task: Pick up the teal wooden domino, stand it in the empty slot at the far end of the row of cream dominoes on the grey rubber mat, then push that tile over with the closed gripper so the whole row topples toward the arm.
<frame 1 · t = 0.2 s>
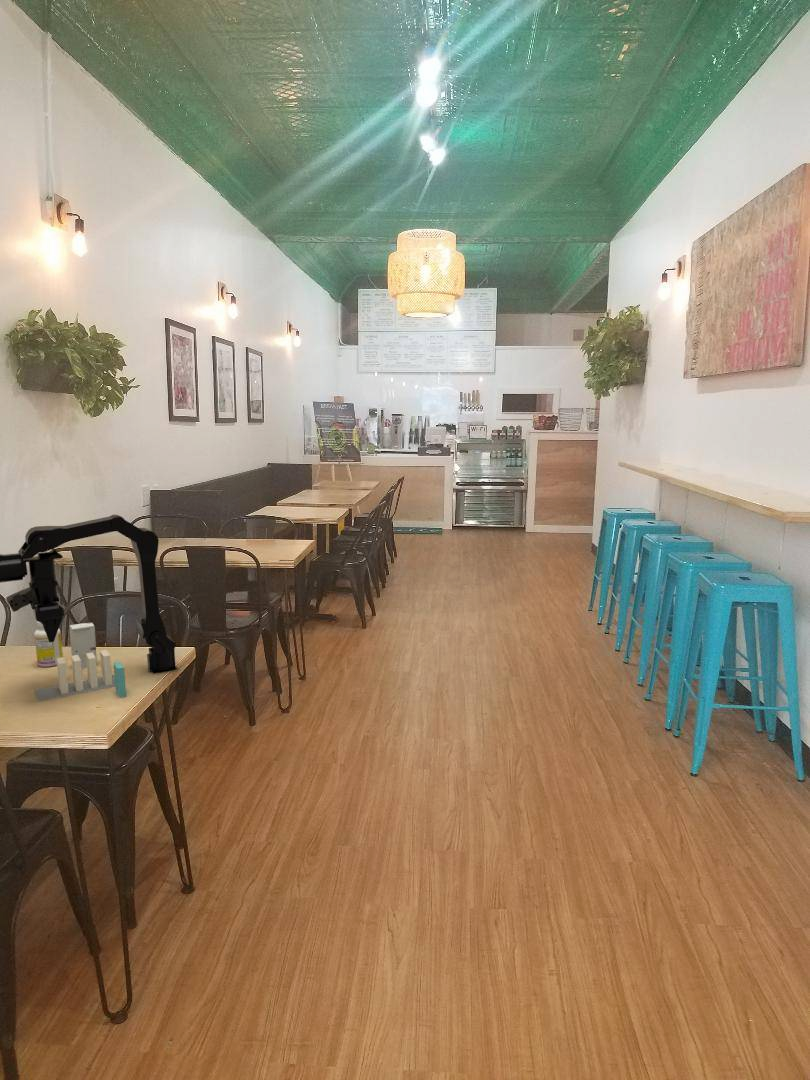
hand: (49, 637, 183), 14 cm above the table, tool pointing down, fingers open, 9 cm apart
skincare box: (85, 667, 202), on the table
domino 4: (63, 690, 184), resting on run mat
domino 1: (107, 682, 190), resting on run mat
supplement bottle: (50, 664, 205), on the table
teal domino: (121, 695, 182), on the table
domino 3: (78, 687, 186), resting on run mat
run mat: (78, 689, 186), on the table
domino 2: (93, 684, 188), resting on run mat
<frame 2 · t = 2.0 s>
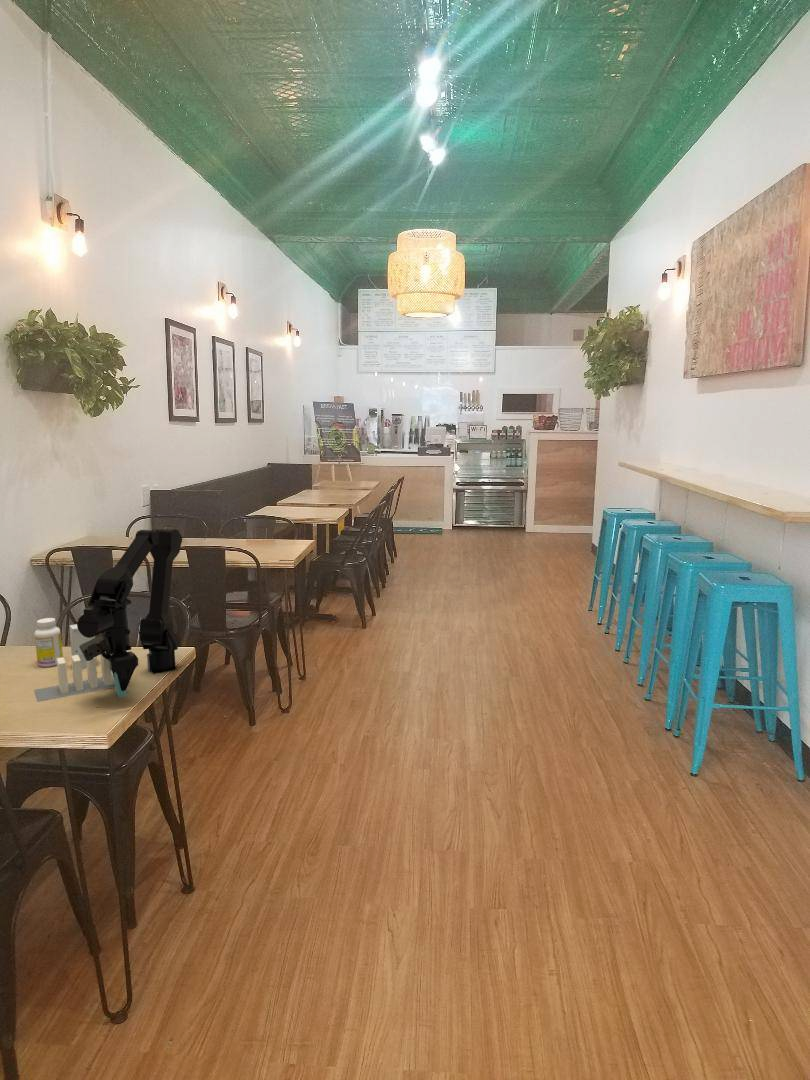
hand: (120, 685, 182), 3 cm above the table, tool pointing down, fingers open, 8 cm apart
nothing on the table moved.
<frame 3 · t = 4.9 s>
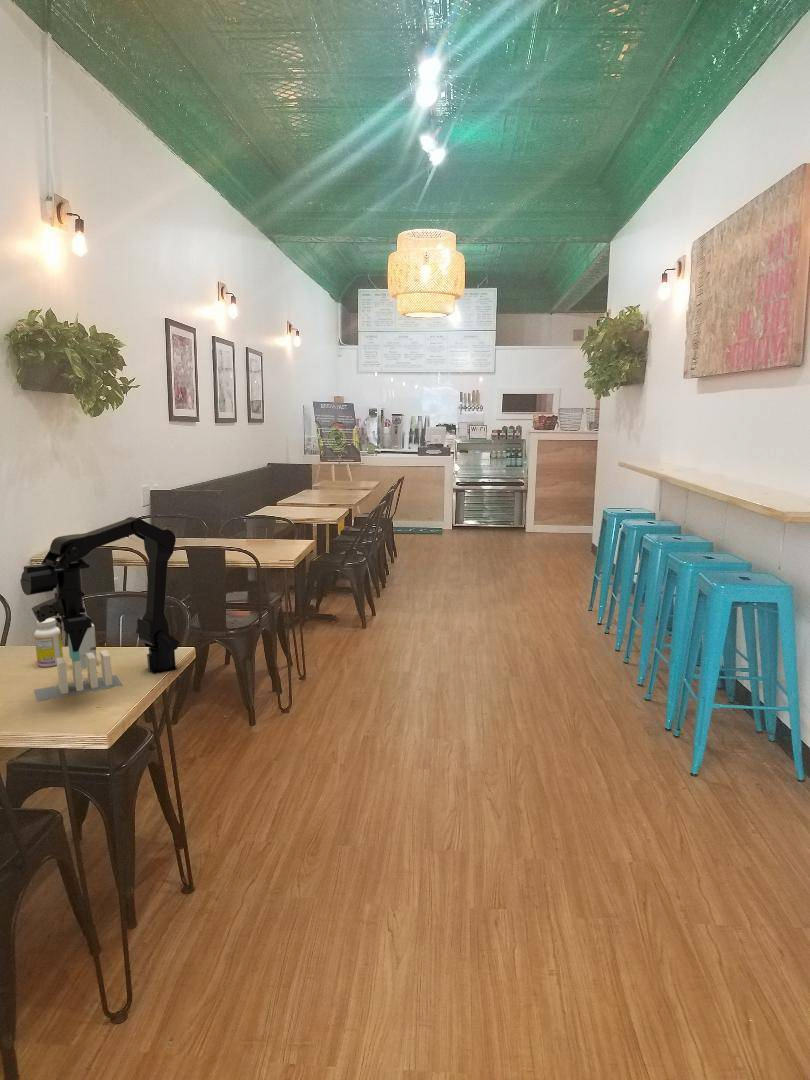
hand: (73, 648, 180), 12 cm above the table, tool pointing down, fingers closed on teal domino, 5 cm apart
teal domino: (74, 658, 180), point 10 cm above the table, touching gripper
everything else where it was.
when the fingers open (4 cm above the table, at t = 7.3 s): teal domino drops 1 cm, resting on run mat.
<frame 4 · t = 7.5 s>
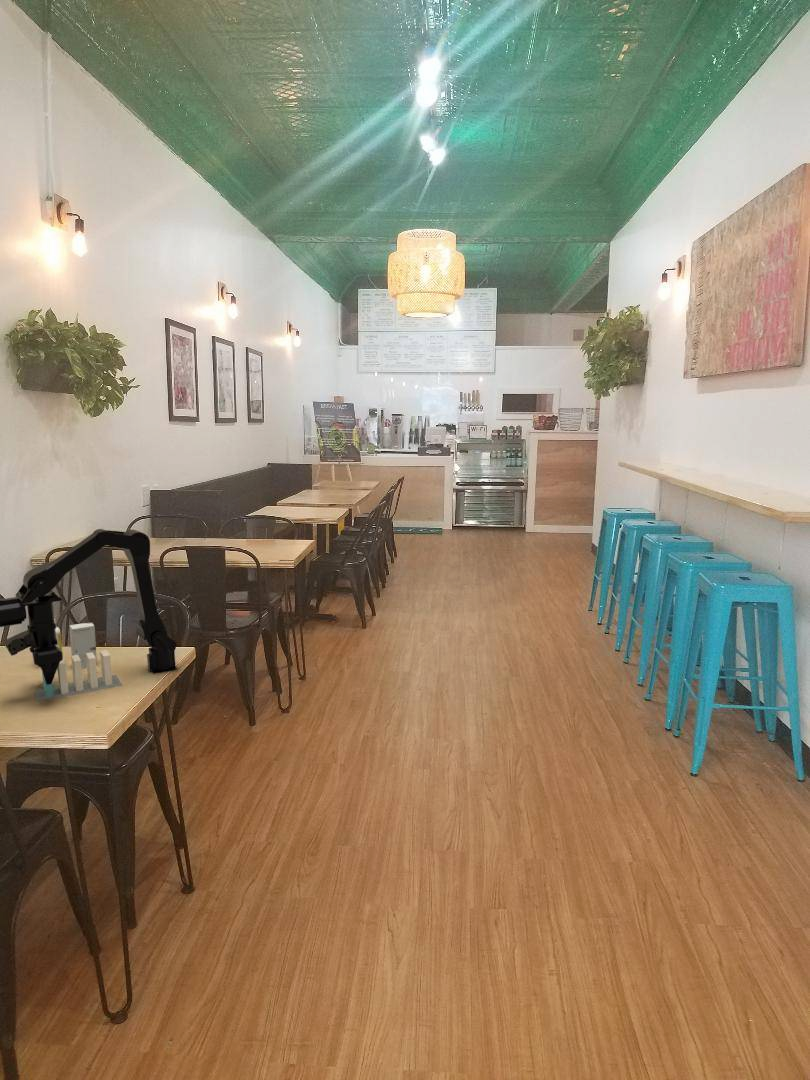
hand: (47, 679, 182), 4 cm above the table, tool pointing down, fingers open, 7 cm apart
teal domino: (48, 693, 182), resting on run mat
everything else where it was.
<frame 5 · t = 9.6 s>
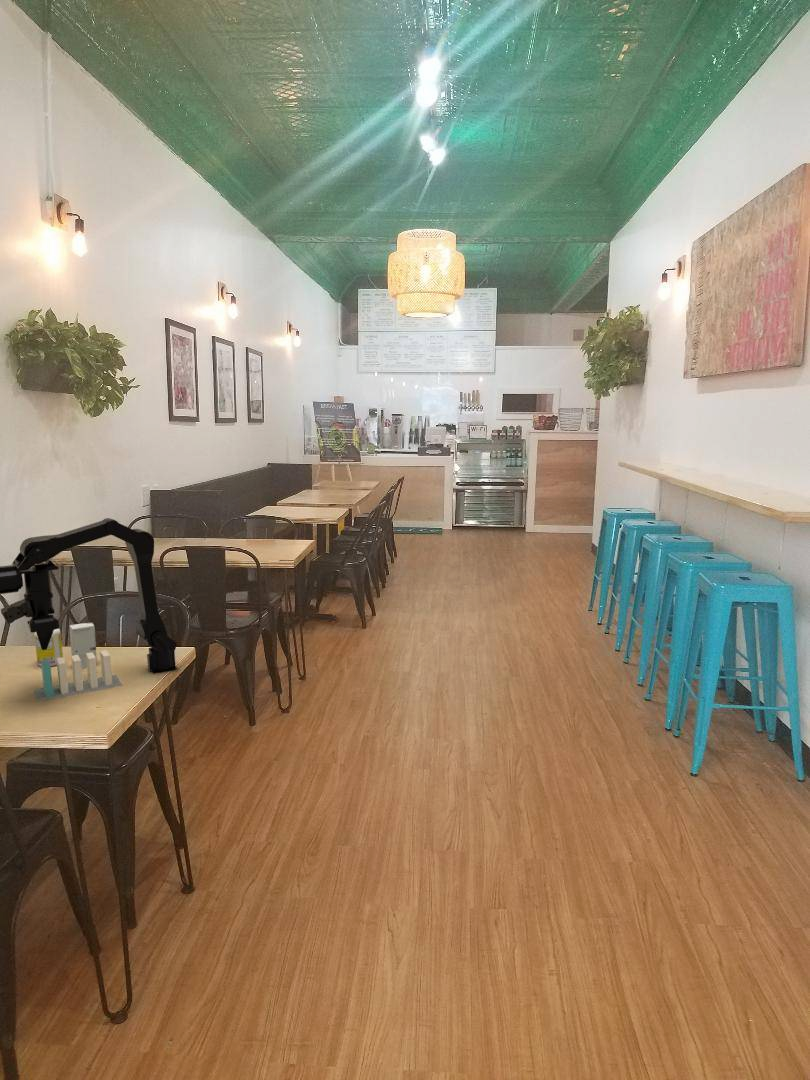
hand: (44, 649, 180), 12 cm above the table, tool pointing down, fingers closed
nothing on the table moved.
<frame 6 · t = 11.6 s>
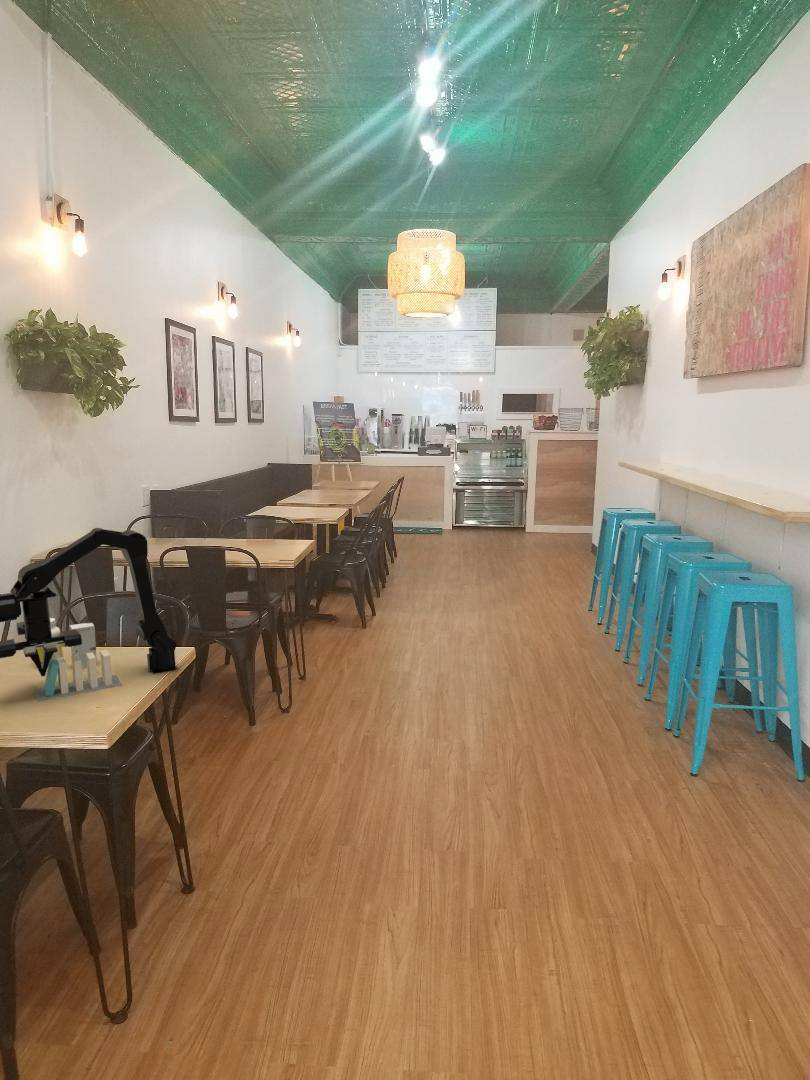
hand: (43, 675, 181), 5 cm above the table, tool pointing down, fingers closed
teal domino: (48, 692, 182), point 1 cm above the table, tilted 14°, touching gripper, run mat
everything else where it was.
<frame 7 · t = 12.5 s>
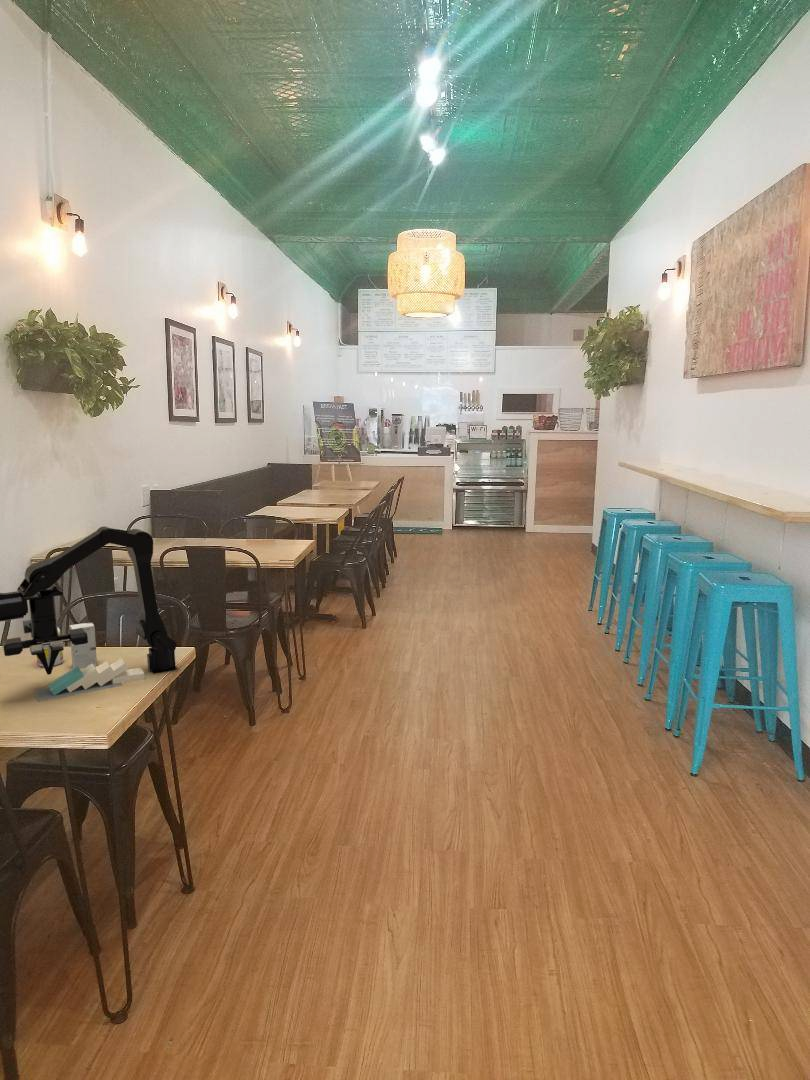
hand: (49, 674, 182), 5 cm above the table, tool pointing down, fingers closed
domino 4: (66, 687, 184), point 1 cm above the table, tilted 63°, touching domino 3, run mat, teal domino
domino 1: (111, 678, 190), point 1 cm above the table, tilted 91°, touching domino 2, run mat
teal domino: (51, 690, 183), point 1 cm above the table, tilted 63°, touching domino 4, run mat
domino 3: (82, 684, 186), point 1 cm above the table, tilted 63°, touching domino 4, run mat
domino 2: (97, 681, 188), point 1 cm above the table, tilted 63°, touching domino 1
everything else where it was.
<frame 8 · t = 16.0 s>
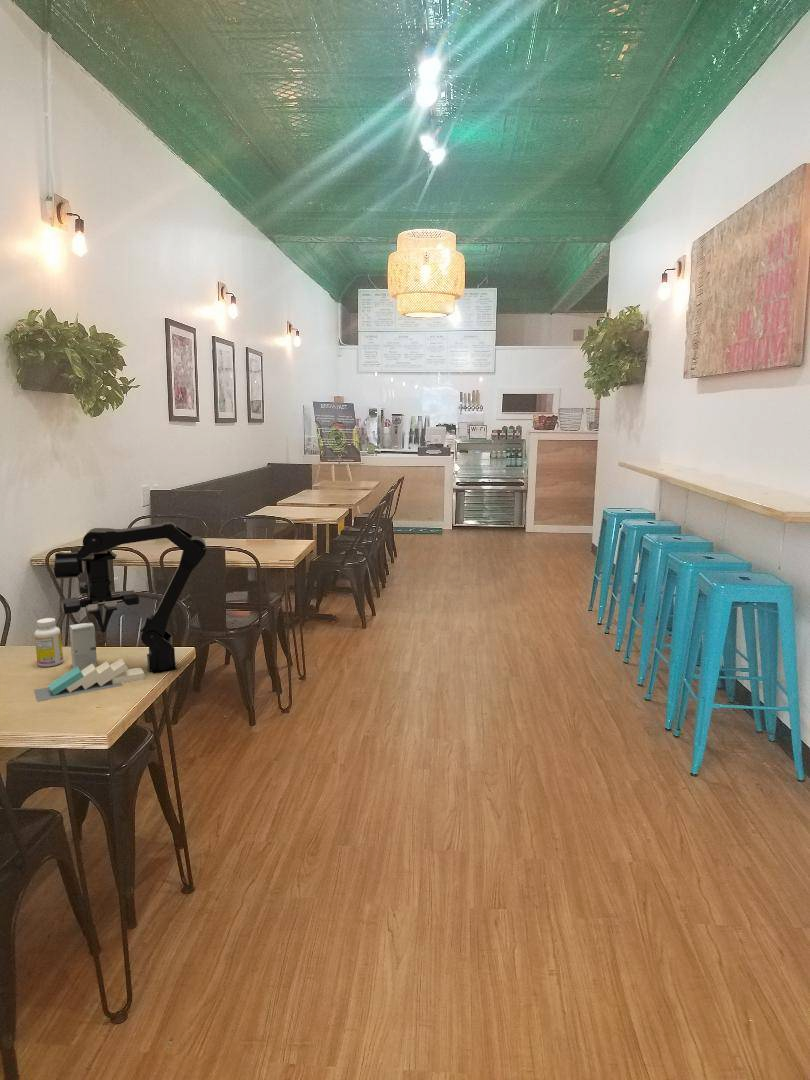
hand: (103, 632, 194), 12 cm above the table, tool pointing down, fingers closed
domino 3: (82, 684, 186), point 1 cm above the table, tilted 63°, touching domino 2, domino 4, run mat
domino 2: (97, 681, 188), point 1 cm above the table, tilted 63°, touching domino 1, domino 3
everything else where it was.
at the end: teal domino inside the target area (0.7 cm from its centre), point 1.1 cm above the table; teal domino tilted 63°; domino 1 tilted 91° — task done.
